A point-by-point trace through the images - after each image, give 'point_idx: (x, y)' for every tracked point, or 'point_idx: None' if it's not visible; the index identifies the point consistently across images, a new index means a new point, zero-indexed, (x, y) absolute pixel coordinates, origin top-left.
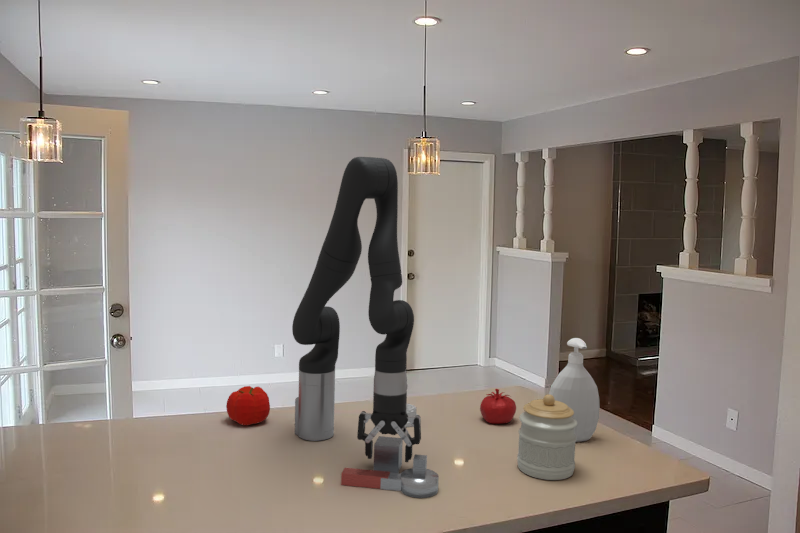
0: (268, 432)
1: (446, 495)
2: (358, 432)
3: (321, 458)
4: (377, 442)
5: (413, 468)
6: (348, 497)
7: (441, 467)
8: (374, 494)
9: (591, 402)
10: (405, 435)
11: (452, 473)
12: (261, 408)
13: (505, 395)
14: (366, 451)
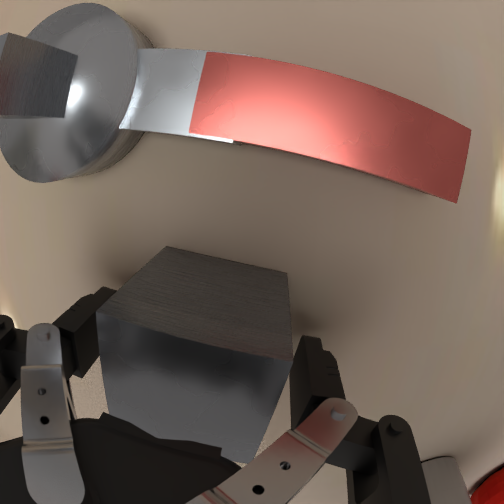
0: (492, 458)
1: None
2: (412, 454)
3: (459, 376)
4: (263, 399)
5: (45, 45)
6: (398, 16)
7: (35, 301)
8: (286, 25)
9: None
10: (21, 368)
11: (6, 252)
12: (501, 495)
13: None
14: (330, 368)
